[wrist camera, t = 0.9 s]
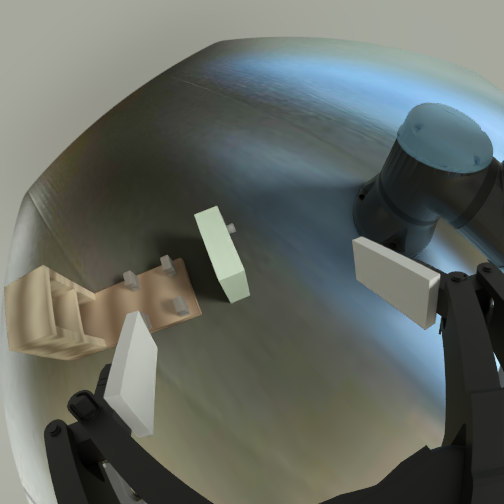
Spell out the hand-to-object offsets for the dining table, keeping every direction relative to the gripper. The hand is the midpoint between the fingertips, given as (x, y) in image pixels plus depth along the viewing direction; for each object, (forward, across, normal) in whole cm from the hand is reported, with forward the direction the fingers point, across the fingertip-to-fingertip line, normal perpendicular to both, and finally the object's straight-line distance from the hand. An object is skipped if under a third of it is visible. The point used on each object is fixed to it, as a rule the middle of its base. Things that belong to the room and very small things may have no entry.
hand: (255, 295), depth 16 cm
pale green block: (+25, 0, -9) cm, 27 cm away
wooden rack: (+25, -18, -10) cm, 33 cm away
